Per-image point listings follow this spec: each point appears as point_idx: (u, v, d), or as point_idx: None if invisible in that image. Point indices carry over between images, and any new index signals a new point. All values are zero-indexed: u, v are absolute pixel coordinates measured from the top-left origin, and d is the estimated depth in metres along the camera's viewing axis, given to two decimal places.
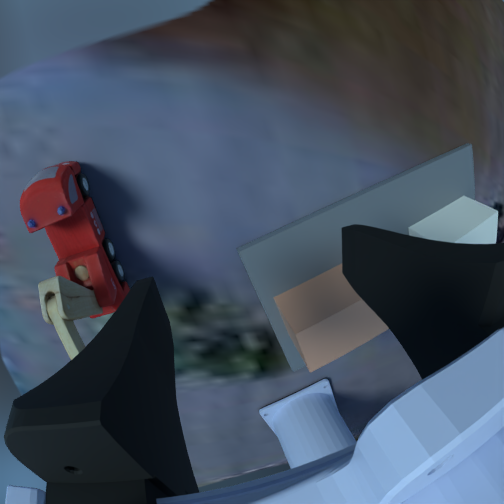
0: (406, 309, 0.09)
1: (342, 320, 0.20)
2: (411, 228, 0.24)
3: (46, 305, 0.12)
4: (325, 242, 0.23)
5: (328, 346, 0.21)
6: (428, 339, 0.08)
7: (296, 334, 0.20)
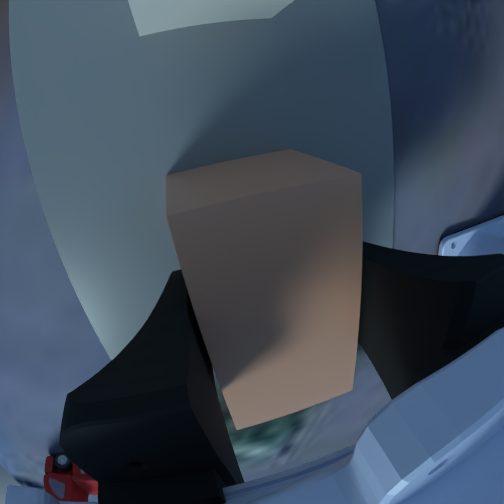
0: (372, 323, 0.08)
1: (244, 364, 0.08)
2: (138, 32, 0.07)
3: None
4: (123, 267, 0.11)
5: (307, 376, 0.09)
6: (394, 356, 0.08)
7: (238, 427, 0.10)
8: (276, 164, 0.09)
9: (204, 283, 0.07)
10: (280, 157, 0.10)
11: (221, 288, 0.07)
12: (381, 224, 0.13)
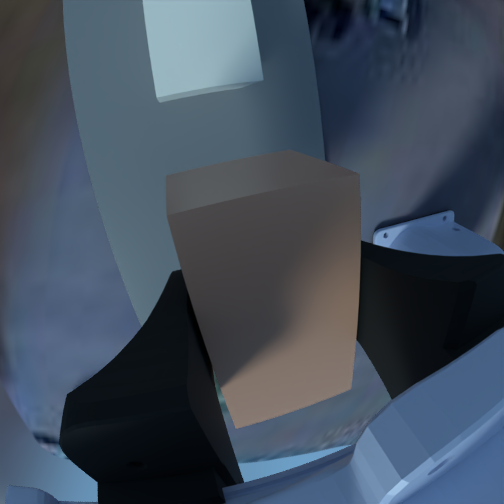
0: (373, 323, 0.08)
1: (244, 363, 0.09)
2: (159, 101, 0.15)
3: None
4: (148, 243, 0.18)
5: (306, 375, 0.10)
6: (394, 356, 0.08)
7: (237, 426, 0.10)
8: (275, 164, 0.09)
9: (203, 283, 0.07)
10: (279, 158, 0.10)
11: (220, 288, 0.07)
12: None
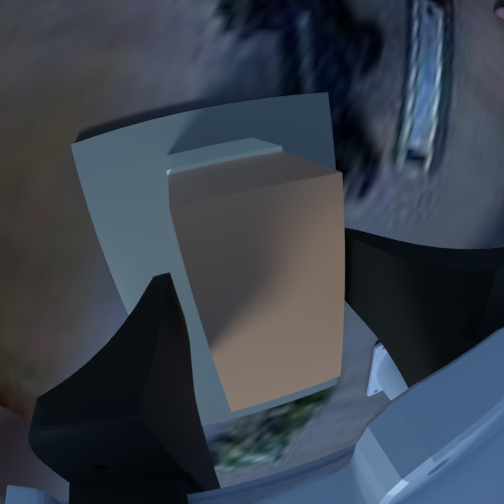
0: (391, 316, 0.09)
1: (238, 346, 0.09)
2: None
3: None
4: (194, 382, 0.22)
5: (297, 360, 0.10)
6: (413, 347, 0.08)
7: (233, 409, 0.11)
8: (268, 165, 0.10)
9: (201, 270, 0.08)
10: (272, 158, 0.11)
11: (216, 274, 0.08)
12: None
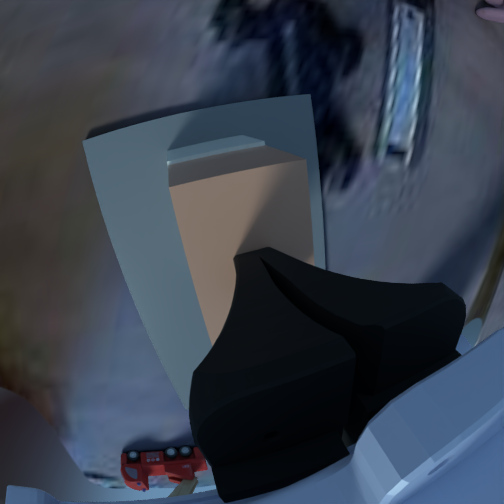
0: None
1: (224, 305, 0.11)
2: None
3: None
4: (191, 361, 0.24)
5: None
6: None
7: None
8: (249, 155, 0.12)
9: (193, 236, 0.10)
10: (254, 151, 0.13)
11: (205, 240, 0.10)
12: None
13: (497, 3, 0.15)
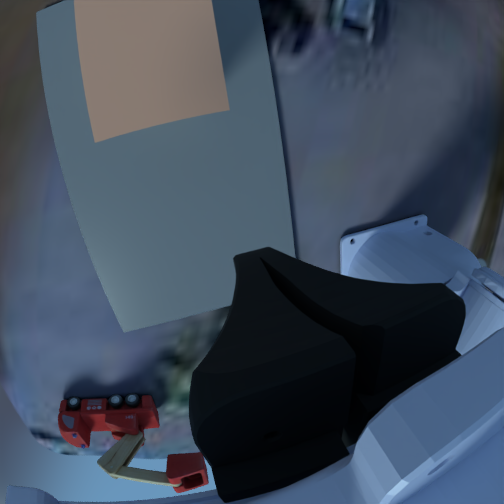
0: None
1: (103, 41, 0.07)
2: None
3: (109, 474, 0.19)
4: (123, 255, 0.20)
5: (165, 67, 0.08)
6: None
7: (96, 139, 0.09)
8: None
9: None
10: None
11: None
12: (282, 228, 0.22)
13: None
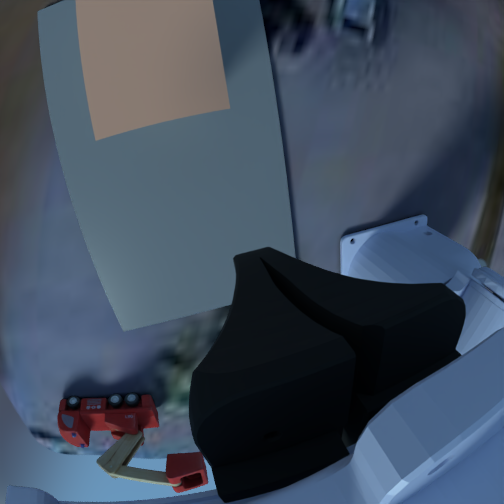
0: None
1: (104, 40, 0.07)
2: None
3: (108, 473, 0.19)
4: (123, 253, 0.20)
5: (166, 66, 0.08)
6: None
7: (97, 137, 0.09)
8: None
9: None
10: None
11: None
12: (282, 228, 0.22)
13: None
